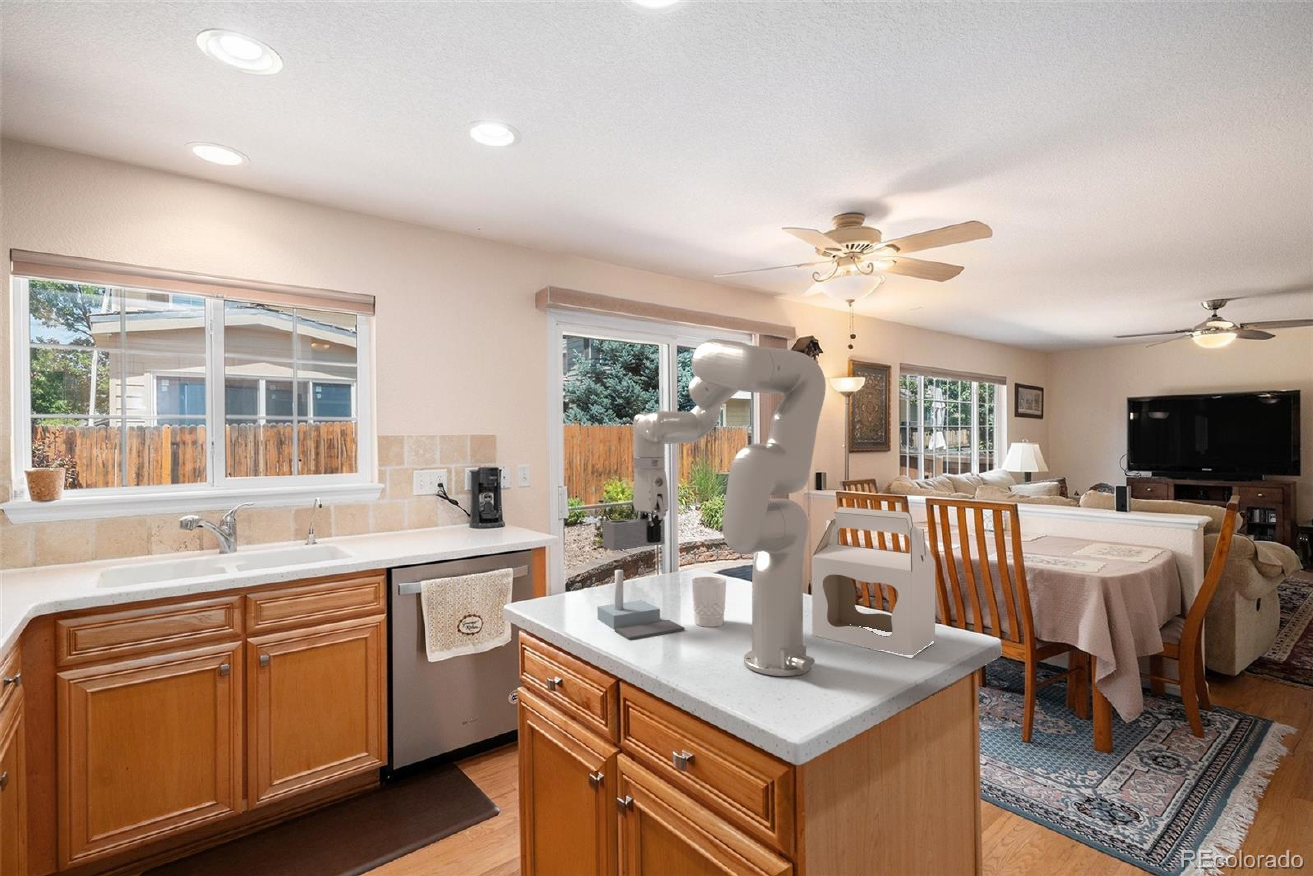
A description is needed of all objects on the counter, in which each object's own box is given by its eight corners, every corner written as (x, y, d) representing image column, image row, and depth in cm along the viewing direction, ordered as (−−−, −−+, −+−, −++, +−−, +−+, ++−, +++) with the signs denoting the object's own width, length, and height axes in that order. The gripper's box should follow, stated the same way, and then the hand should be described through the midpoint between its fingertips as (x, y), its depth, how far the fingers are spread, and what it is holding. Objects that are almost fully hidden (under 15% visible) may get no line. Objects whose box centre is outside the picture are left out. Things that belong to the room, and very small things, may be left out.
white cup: (725, 618, 152) (725, 577, 152) (726, 628, 144) (726, 584, 144) (692, 617, 153) (692, 576, 153) (691, 627, 145) (691, 583, 145)
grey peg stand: (613, 629, 143) (613, 576, 143) (597, 619, 151) (597, 568, 151) (659, 621, 149) (660, 570, 149) (641, 612, 157) (642, 563, 157)
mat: (684, 630, 143) (684, 627, 143) (628, 640, 136) (628, 637, 136) (668, 622, 149) (668, 619, 149) (614, 631, 142) (614, 628, 142)
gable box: (810, 635, 139) (810, 508, 139) (838, 622, 149) (838, 503, 149) (912, 659, 124) (913, 516, 124) (936, 643, 134) (937, 510, 134)
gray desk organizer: (613, 550, 145) (613, 523, 145) (602, 546, 150) (602, 521, 150) (666, 545, 152) (666, 519, 152) (654, 541, 157) (654, 517, 157)
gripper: (680, 465, 147) (681, 544, 147) (646, 463, 162) (646, 535, 162) (652, 466, 144) (652, 547, 144) (619, 464, 158) (620, 537, 158)
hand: (649, 540), depth 153 cm, fingers closed on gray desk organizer, 4 cm apart
